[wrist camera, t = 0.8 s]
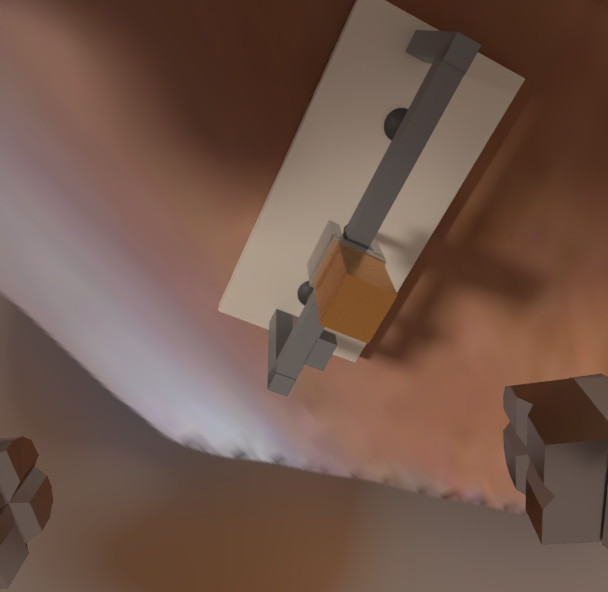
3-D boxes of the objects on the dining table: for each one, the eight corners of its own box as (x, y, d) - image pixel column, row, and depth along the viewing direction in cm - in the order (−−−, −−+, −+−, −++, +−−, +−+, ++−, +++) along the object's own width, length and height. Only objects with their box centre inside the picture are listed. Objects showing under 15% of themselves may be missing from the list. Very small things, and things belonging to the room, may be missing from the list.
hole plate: (219, 303, 50) (204, 376, 40) (360, -11, 39) (390, -24, 29) (353, 354, 53) (371, 434, 43) (517, 76, 43) (595, 93, 32)
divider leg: (302, 230, 45) (314, 323, 31) (321, 192, 44) (342, 271, 30) (344, 248, 46) (374, 347, 32) (364, 211, 45) (404, 297, 31)
